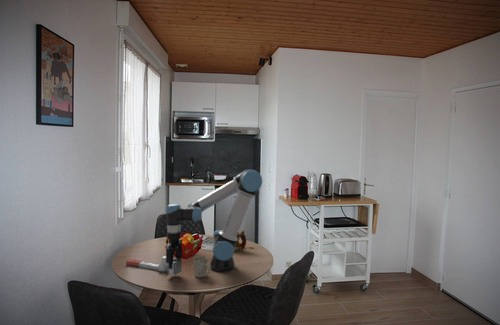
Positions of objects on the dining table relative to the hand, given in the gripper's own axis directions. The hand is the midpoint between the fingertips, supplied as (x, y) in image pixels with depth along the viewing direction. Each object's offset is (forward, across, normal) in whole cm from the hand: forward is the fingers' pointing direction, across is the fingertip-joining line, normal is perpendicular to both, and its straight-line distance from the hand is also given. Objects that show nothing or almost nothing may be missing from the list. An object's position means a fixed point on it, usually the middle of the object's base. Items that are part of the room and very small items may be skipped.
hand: (174, 271), depth 181 cm
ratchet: (+2, -6, -22) cm, 23 cm away
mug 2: (+4, -58, +14) cm, 59 cm away
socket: (0, 0, 0) cm, 0 cm away
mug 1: (+4, -7, +14) cm, 16 cm away
